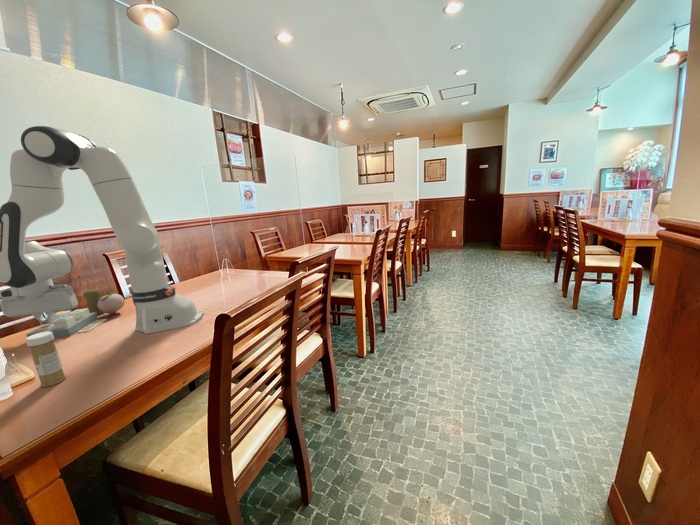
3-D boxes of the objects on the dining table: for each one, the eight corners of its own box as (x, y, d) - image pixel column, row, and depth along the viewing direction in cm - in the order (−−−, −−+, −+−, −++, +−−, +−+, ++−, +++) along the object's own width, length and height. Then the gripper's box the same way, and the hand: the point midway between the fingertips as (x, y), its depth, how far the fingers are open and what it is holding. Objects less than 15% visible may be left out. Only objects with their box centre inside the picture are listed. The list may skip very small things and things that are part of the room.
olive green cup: (95, 317, 116) (88, 292, 114) (84, 316, 117) (77, 292, 115) (110, 311, 122) (104, 287, 120) (99, 311, 123) (93, 287, 121)
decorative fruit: (121, 316, 115) (115, 293, 113) (97, 319, 113) (91, 296, 111) (130, 308, 124) (125, 287, 122) (109, 311, 122) (103, 290, 120)
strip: (106, 319, 113) (106, 318, 112) (88, 331, 102) (88, 330, 102) (96, 321, 112) (95, 319, 112) (77, 333, 101) (76, 331, 101)
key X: (76, 324, 104) (73, 315, 103) (68, 328, 100) (65, 319, 99) (63, 326, 103) (61, 316, 102) (55, 330, 99) (52, 321, 98)
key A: (73, 318, 110) (70, 309, 109) (66, 322, 106) (63, 313, 105) (61, 319, 109) (58, 311, 108) (53, 324, 105) (50, 314, 105)
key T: (59, 331, 103) (56, 322, 102) (51, 336, 99) (48, 327, 98) (46, 333, 102) (43, 324, 101) (37, 338, 98) (34, 329, 97)
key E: (90, 316, 111) (88, 307, 111) (83, 320, 108) (81, 311, 107) (78, 317, 110) (76, 309, 110) (71, 321, 107) (68, 312, 106)
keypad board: (98, 318, 114) (96, 312, 113) (70, 336, 99) (67, 328, 98) (63, 323, 111) (61, 316, 111) (29, 342, 96) (26, 334, 95)
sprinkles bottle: (40, 383, 72) (24, 336, 69) (65, 374, 75) (51, 329, 72) (41, 390, 69) (25, 341, 66) (67, 380, 72) (52, 333, 69)
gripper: (76, 281, 102) (86, 315, 105) (9, 288, 98) (21, 324, 101) (63, 286, 96) (74, 322, 99) (-10, 294, 92) (5, 331, 95)
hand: (47, 323), depth 100 cm, fingers closed
